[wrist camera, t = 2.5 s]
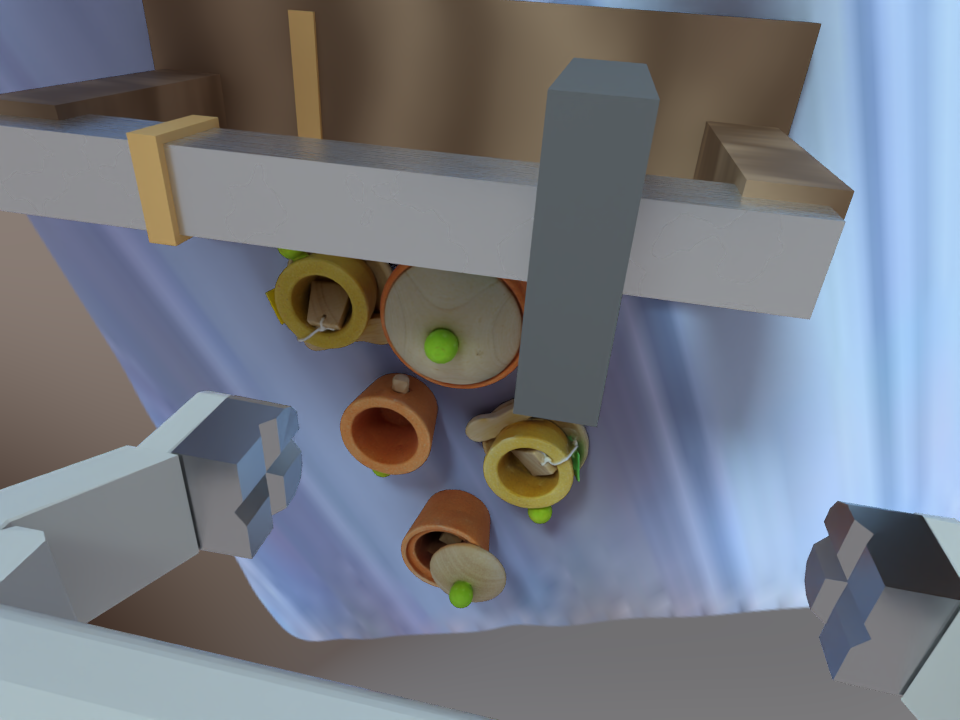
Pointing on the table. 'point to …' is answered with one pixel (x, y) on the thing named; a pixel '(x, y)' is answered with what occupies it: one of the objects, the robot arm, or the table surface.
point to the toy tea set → (413, 408)
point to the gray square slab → (582, 234)
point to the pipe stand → (437, 139)
